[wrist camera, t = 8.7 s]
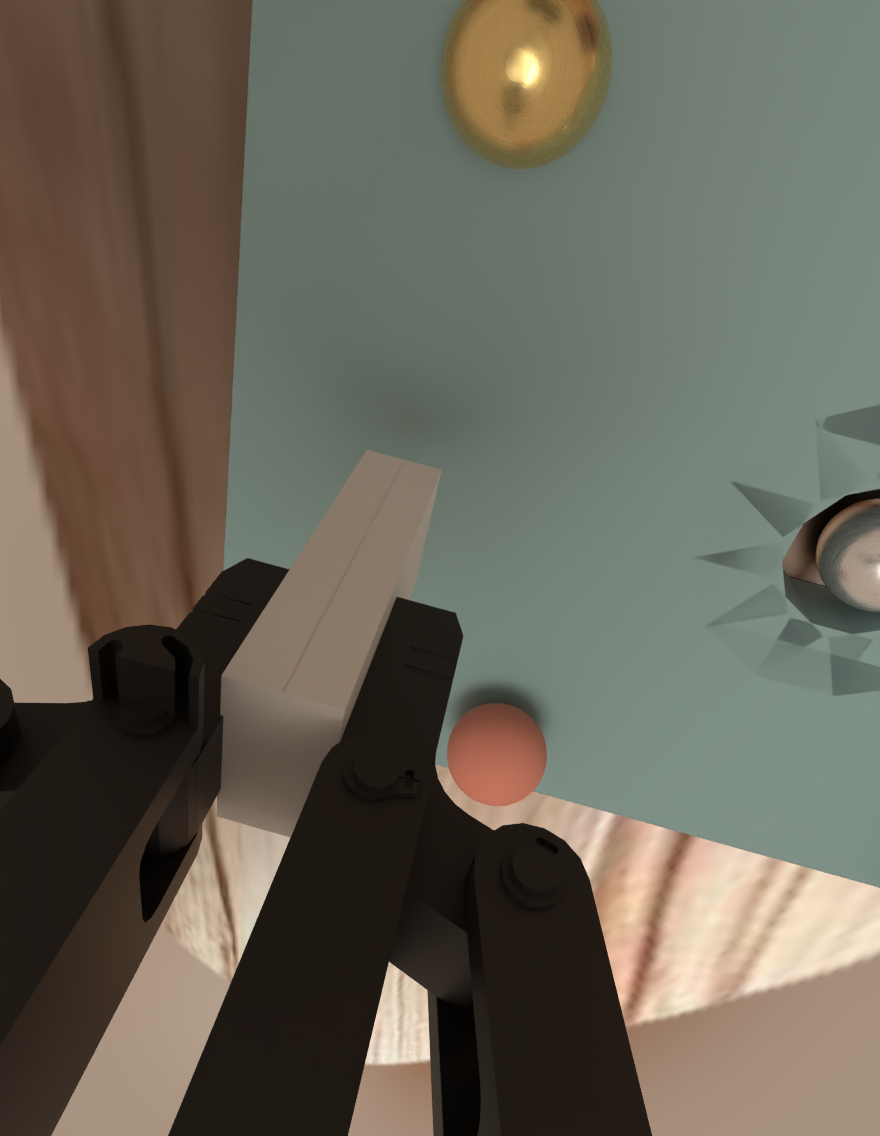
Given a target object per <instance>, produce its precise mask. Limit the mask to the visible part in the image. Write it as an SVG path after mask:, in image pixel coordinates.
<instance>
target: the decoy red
mask: <svg viewBox="0 0 880 1136" xmlns="http://www.w3.org/2000/svg"><path fill="white" fill-rule="evenodd" d="M447 761H448V766H449V770H450V773H451V775H452V777H453V779H454V781H455V782H456V784H457V785H458V787H459V788H460V789H461V790H462V791H463V792H464V793H465V794H466V795H467V796H469V797H470V798H472V799H473V800H475V801H478V802H480V803H483V804H486V805H491V806H505V805H510V804H513V803H516V802H518V801H520V800H522V799H524V798H525V797H527V796H528V795H529V794H530V793H531V792H533V790H534V789H535V788H536V787H537V786H538V784H539V782H540V781H541V779H542V777H543V774H544V771H545V768H546V761H547V748H546V744H545V739H544V737H543V734H542V732H541V730H540V728H539V727H538V725H537V724H536V722H535V721H534V720H533V719H532V718H531V717H530V716H529V715H528V714H526V713H525V712H524V711H522V710H520V709H519V708H516V707H514V706H511V705H508V704H503V703H489V704H484V705H480V706H478V707H476V708H474V709H472V710H470V711H468V712H467V713H466V714H465V715H464V716H462V717H461V719H460V720H459V721H458V722H457V723H456V725H455V726H454V728H453V730H452V732H451V735H450V737H449V741H448V746H447Z"/></svg>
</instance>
